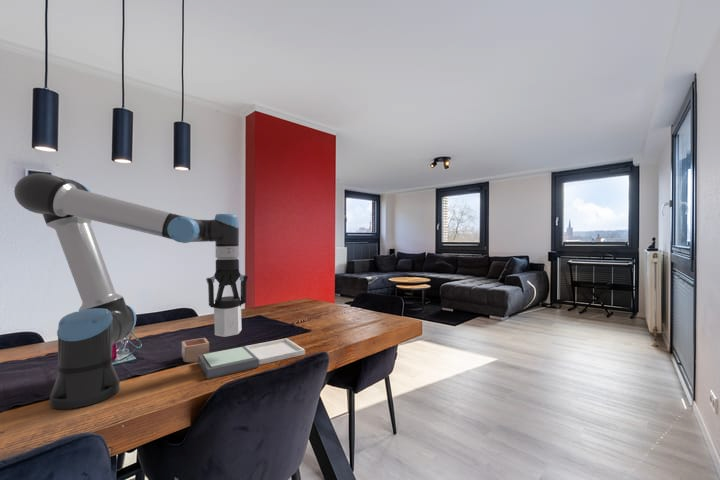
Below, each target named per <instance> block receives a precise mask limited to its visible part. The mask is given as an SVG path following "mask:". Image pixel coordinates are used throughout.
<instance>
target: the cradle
mask: <svg viewBox="0 0 720 480" xmlns="http://www.w3.org/2000/svg"><path fill="white" fill-rule="evenodd" d="M245 346H246V345H244V346H240V347H242V348H243V349H244V350H245V351H247V352H248V353H249V354H250V355H251V356H252V357H253V359H250V360H246V361H241V362H236V363H232V364H227V365H222V366H218V367H213V368H210V367H209V365H208V364H207V362H206V361H205V359H204V358H203V354H201V355H198V365H199V367H200V370H202V372H203V373H204V375H205V378H206V379H207V380H210V379H216V378H220V377H224V376H229V375H232V374H237V373H241V372H245V371H250V370H254V369H259V364H258V358H257V357H255V356H254V355H253V354H252V353H251V352H250V351H249V350H248V349H247V348H246V347H245ZM240 347H237V348H240ZM234 348H235V347H234ZM234 348H232V349H234ZM229 349H230V348H229ZM229 349H227V350H229ZM224 350H225V349H223V350H221V351H224ZM218 351H219V350H218ZM218 351H216V352H218ZM213 352H214V351H212V352H211V353H213ZM206 354H208V353H206Z"/></svg>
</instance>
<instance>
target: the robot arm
mask: <svg viewBox="0 0 720 480" xmlns="http://www.w3.org/2000/svg"><path fill="white" fill-rule="evenodd" d="M13 191H14V197H15V200H16V201H17V203H18V204H19V205H20V206H21V207H23V208H24V209H25V210H28V211H29V212H32V213H35V214H40V215H42V217H43V219H44V222H45V225H46V226H47V227H49V228H51V229H54V230H55V233H56V235H57V238H58V240H59V243H60V247H61V248H62V252H63V254H64V257H65V260H66V261H67V265H68V267H69V270H70V273H71V275H72V279H73V280H74V284H75V286H76V289H77V292H78V295H79V297H80V300H81V306H80V307H79V309H78V311H74V312H71V313H68V314H67V315H66V314H65V316H63V317H62V318H60V320H59V322H58V325H57V328H58V329H57V330H56V332H57V333H56V336H57V358H58V359H57V362H58V363H57V365H58V371H57V372H58V373H57V377H56V380H55V382H54V385H53V387H52V390H51V392H50V395H49V406H50V408H52V409H55V410H72V408H73V409H79V408H84V407H87V406H88V407H89V406H91V405H94V404H97V403H100V402H102V401H105V400H107V399H109V398H111V397H114V396H115V395H116V394H118V392H119V391H120V387H121V386H120V382H121V381H120V379H119V376H118V374H117V371H116V369H115V367H114V365H113V345H115V344H116V343H119V341H122V340H123V339H125V338H127V336H129V334H130V333H131V332H132V331H133V330H134V328H135V326H136V322H137V315H136V312H135V310H134V309H133V307H131V306H130V305H128V304H126V301H125V298H124V296H123V295H121V294H119V293H116V290H115V287H114V285H113V283H112V279H111V277H110V273H109V271H108V269H107V266H106V263H105V259H104V258H103V254H102V252H101V249H100V247H99V243H98V241H97V238H96V236H95V233H94V230H93V226H92V225H91V222H92V221H94V222H98V223H103V224H106V225H111V226H116V227H120V228H123V229H128V230H131V231H137V232H140V233H145V234H148V235H149V234H150V235H153V236H157V237H161V238H166V239H169V240H173V241H175V242H177V243H181V244H188V243H197V242H198V243H201V242H202V243H204V242H205V243H207V242H209V243H210V242H211V243H212V242H215V245H214V246H215V258H216V260H215V272H214V275H213V276H210V277H207V278H206V283H207V288H208V290H207V291H208V307H210V308H213V309H214V308H216V305H215V299H216V300H221V299H222V297H223V294H224V290H225V287H227V286H230V289H231V292H232V296H234V297H235V298H239V297H240V306H241V307H242V305H244V304H246V303H247V281H248V279H249V277H248V276H247V275H246V274H241V271H240V260H239V259H238V258H239V256H240V253H239V252H240V251H239V246H240V245H239V241H240V240H239V238H240V234H239V233H240V227H239V217H238V215H236V214H233V213H232V214H231V213H217V214H215V217H214V219H196V218H195V219H194V218H192V217H189V216H185V215H184V216H183V215H180V214H176V213H171V212H167V211H165V210H160V209H156V208H153V207H150V206H149V207H148V206H146V205H141V204H137V203H133V202H131V201H130V202H129V201H125V200H123V199H118V198H115V197H110V196H106V195H102V194H98V193H94V192H91V190H90V189H89V188H88V187H87V186H86V185H84V184H82V183H80V182H79V181H76V180H73V179H69V178H63V177H59V176H56V175H53V174H49V173H45V172H43V173H42V172H36V173H35V172H34V173H31V174H27V175H25V176H23V177H21V178H20V179H19V180H18V181H17V182H16V184H15V186H14V190H13ZM215 280H216V281H217V283H218V288H217V293H216V298H215V293H214V291H215V288H214V283H215ZM238 280H240V296H239V290H238V288H237V282H238ZM83 406H84V407H83ZM78 407H79V408H78Z"/></svg>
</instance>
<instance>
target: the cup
mask: <svg viewBox="0 0 720 480" xmlns="http://www.w3.org/2000/svg"><path fill="white" fill-rule="evenodd" d="M206 353H210V341H208V339H207V338H206V337H201V338H195V339H188V340H182V341H181V357H182V361H183V362H184V363H197V362H198V355H201V354H206Z"/></svg>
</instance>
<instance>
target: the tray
mask: <svg viewBox="0 0 720 480" xmlns="http://www.w3.org/2000/svg"><path fill="white" fill-rule="evenodd" d="M244 346H245V347H246V348H247V349H248V350H249V351H250V352H251V353H252V354H253V355H254V356H255V357H257V358H258V366H259V365H265V364H269V363H274V362H278V361H279V362H280V361H282V360H286V359H292V358H295V357H300V356H304V355H306V348H305V349H304V348H303V347H301V346H300V345H298V344H297V343H295V342H293V341H292V340H291V339H289V338H286V337H285V338H281V339H276V340H271V341H270V340H269V341H266V342H264V341H263V342H261V343H260V342H259V343H255V344H250V345H244Z"/></svg>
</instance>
